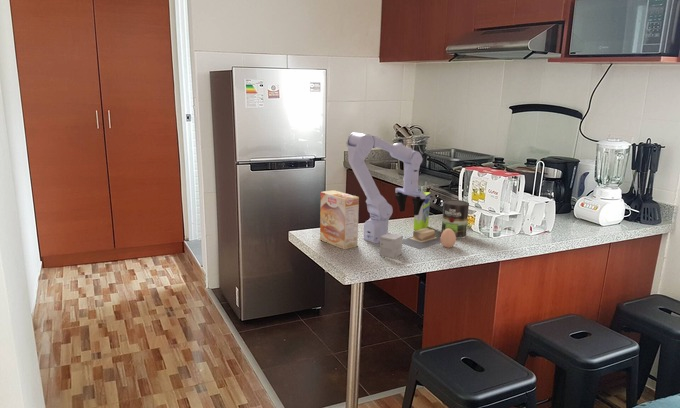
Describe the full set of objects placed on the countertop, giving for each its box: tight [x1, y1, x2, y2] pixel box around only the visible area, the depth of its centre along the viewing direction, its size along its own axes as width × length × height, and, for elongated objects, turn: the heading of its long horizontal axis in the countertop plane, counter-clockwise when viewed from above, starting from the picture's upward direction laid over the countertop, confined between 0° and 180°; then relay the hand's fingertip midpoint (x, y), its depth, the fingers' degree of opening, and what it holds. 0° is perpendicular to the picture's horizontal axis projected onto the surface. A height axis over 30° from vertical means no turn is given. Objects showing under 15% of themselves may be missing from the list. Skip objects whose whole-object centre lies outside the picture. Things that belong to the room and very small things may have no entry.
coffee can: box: [440, 199, 470, 239], centre depth 213 cm, size 10×10×14 cm
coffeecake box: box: [319, 189, 360, 250], centre depth 198 cm, size 15×7×20 cm, turn 40°
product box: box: [379, 232, 404, 260], centre depth 188 cm, size 6×6×7 cm
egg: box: [439, 228, 457, 248], centre depth 197 cm, size 6×6×8 cm
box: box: [413, 186, 431, 231], centre depth 221 cm, size 10×4×17 cm, turn 154°
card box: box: [412, 227, 436, 241], centre depth 207 cm, size 4×8×3 cm, turn 131°
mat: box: [402, 235, 441, 250], centre depth 204 cm, size 18×12×1 cm, turn 131°
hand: (409, 213), depth 211 cm, fingers open, 7 cm apart
